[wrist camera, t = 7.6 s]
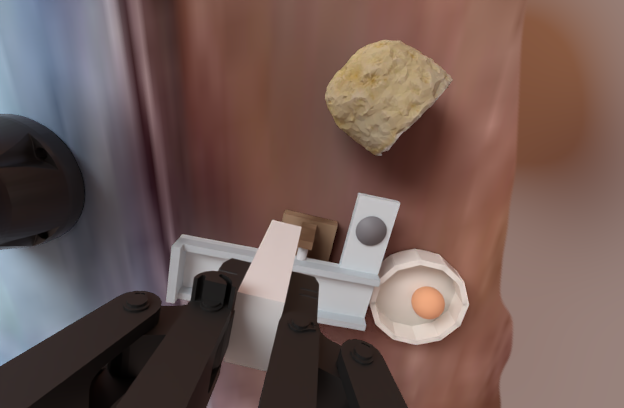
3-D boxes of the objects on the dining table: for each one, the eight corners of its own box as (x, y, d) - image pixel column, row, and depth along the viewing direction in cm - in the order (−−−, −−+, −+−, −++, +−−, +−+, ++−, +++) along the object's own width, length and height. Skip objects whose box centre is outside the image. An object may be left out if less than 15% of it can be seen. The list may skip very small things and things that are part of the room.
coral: (397, 197, 29) (321, 123, 24) (365, 145, 37) (304, 81, 32) (495, 122, 26) (433, 18, 21) (437, 83, 34) (382, 1, 29)
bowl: (358, 315, 40) (360, 331, 38) (381, 239, 37) (385, 250, 35) (441, 335, 40) (449, 353, 37) (471, 260, 37) (482, 273, 34)
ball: (420, 327, 35) (445, 325, 36) (430, 298, 34) (456, 298, 35) (401, 306, 38) (425, 305, 39) (410, 280, 37) (434, 280, 38)
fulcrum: (267, 299, 41) (253, 334, 35) (285, 209, 37) (274, 229, 31) (314, 311, 41) (309, 347, 35) (337, 221, 37) (336, 244, 31)
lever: (175, 298, 35) (164, 315, 32) (191, 157, 31) (180, 163, 28) (357, 330, 37) (361, 348, 34) (397, 200, 32) (406, 209, 30)
